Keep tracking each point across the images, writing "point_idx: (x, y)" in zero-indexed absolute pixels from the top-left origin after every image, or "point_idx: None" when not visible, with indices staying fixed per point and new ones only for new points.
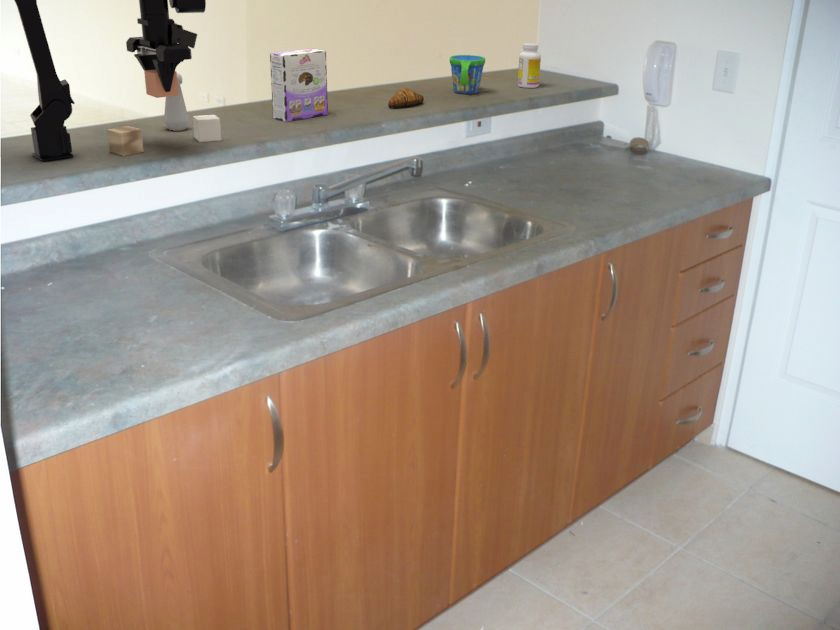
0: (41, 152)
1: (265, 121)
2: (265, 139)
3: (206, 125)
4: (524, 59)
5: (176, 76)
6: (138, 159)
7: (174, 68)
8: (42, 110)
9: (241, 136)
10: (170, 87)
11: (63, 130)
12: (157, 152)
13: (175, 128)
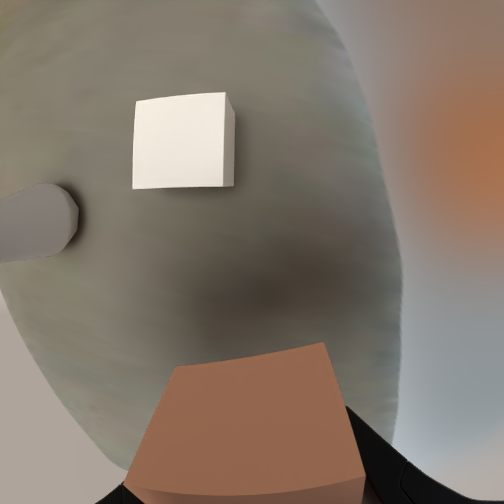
0: None
1: (82, 4)
2: (277, 9)
3: (227, 152)
4: None
5: (354, 441)
6: (357, 374)
7: (454, 498)
8: None
9: (209, 52)
10: (358, 420)
11: None
12: (314, 330)
13: (75, 226)
